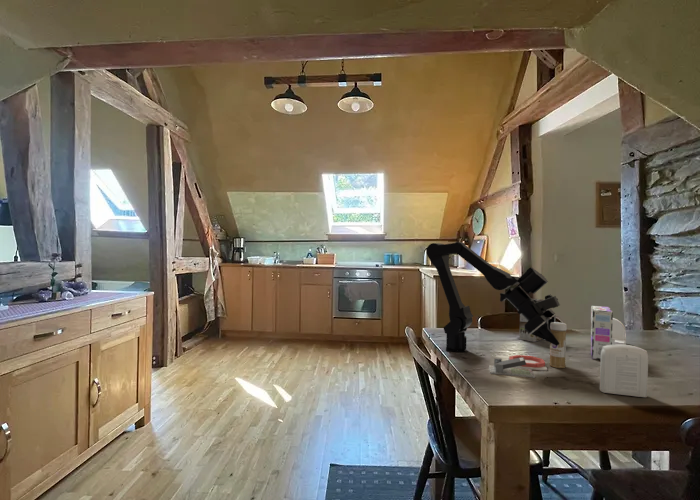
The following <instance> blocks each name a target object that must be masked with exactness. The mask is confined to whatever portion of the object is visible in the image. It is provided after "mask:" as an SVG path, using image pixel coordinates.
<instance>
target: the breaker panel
mask: <svg viewBox="0 0 700 500" xmlns="http://www.w3.org/2000/svg"><path fill="white" fill-rule="evenodd" d="M493 359H494V360H493V362H494V363H493V365H490V364H489V365H488V369H489V370H488V371H489V374H491V375H500V376H512V377H521V378H523V377H525V378H533V379H535V378H536V375H535V373H534V371H533V369H526V368H514V367H512V368H506V369H503V364H500V363H499V362H501V361H503V360H502V358H499V357H494V358H493Z"/></svg>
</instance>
